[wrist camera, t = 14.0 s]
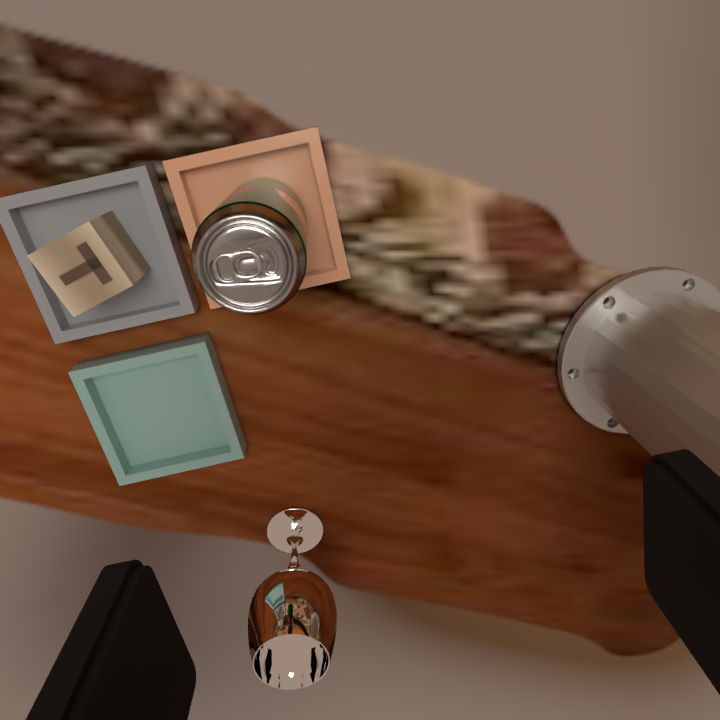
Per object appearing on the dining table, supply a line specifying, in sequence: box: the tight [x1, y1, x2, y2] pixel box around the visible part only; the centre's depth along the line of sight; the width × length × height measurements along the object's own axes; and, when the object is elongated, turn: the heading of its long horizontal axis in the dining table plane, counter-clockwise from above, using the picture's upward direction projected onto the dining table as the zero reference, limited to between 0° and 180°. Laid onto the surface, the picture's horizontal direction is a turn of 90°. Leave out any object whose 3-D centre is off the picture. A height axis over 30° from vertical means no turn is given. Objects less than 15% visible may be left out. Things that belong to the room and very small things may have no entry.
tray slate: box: [0, 163, 200, 344], centre depth 35 cm, size 9×9×2 cm
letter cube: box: [27, 211, 151, 317], centre depth 34 cm, size 4×4×4 cm
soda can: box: [191, 179, 307, 314], centre depth 30 cm, size 5×5×12 cm
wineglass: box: [248, 508, 337, 690], centre depth 40 cm, size 6×6×12 cm
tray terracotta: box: [162, 126, 350, 309], centre depth 35 cm, size 9×9×2 cm
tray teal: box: [68, 332, 247, 486], centre depth 39 cm, size 9×9×2 cm
